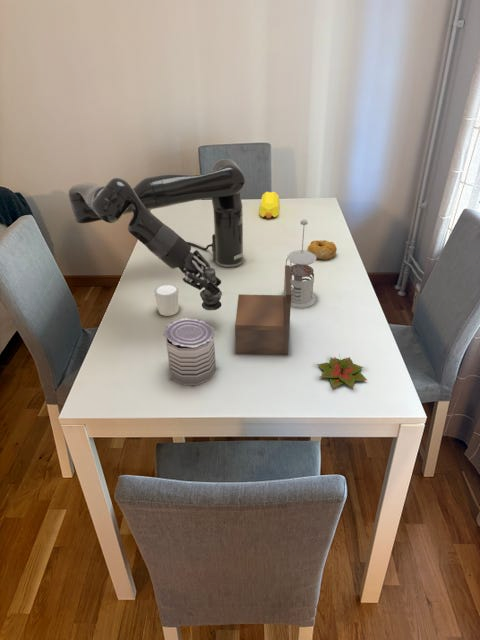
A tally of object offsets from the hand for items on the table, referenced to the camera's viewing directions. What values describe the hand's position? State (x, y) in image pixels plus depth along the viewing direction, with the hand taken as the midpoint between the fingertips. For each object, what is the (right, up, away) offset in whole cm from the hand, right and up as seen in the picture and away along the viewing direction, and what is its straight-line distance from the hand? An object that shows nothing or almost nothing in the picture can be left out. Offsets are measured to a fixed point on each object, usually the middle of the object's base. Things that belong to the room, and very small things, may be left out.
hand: (218, 288), depth 127 cm
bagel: (+34, +14, +40) cm, 55 cm away
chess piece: (-2, -4, +3) cm, 6 cm away
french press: (+23, -2, +18) cm, 29 cm away
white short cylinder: (-15, -6, +13) cm, 21 cm away
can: (-6, -21, -9) cm, 23 cm away
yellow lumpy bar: (+18, +36, +72) cm, 82 cm away
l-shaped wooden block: (+11, -13, +2) cm, 17 cm away
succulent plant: (+30, -21, -10) cm, 38 cm away
